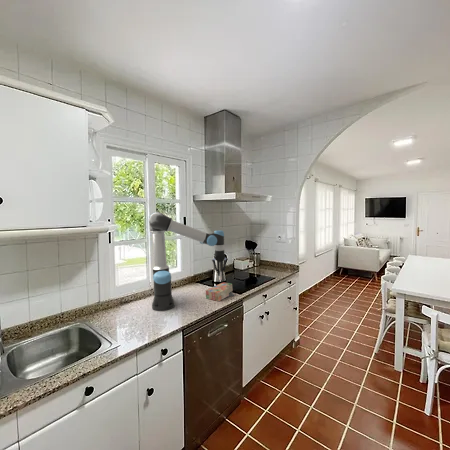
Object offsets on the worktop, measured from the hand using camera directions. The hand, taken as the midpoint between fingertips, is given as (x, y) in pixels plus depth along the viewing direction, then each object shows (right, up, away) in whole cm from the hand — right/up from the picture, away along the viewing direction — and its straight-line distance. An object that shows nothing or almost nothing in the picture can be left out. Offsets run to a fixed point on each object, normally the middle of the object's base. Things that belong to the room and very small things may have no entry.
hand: (220, 279), depth 196 cm
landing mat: (+3, -10, +1) cm, 11 cm away
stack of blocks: (-4, -7, -4) cm, 9 cm away
